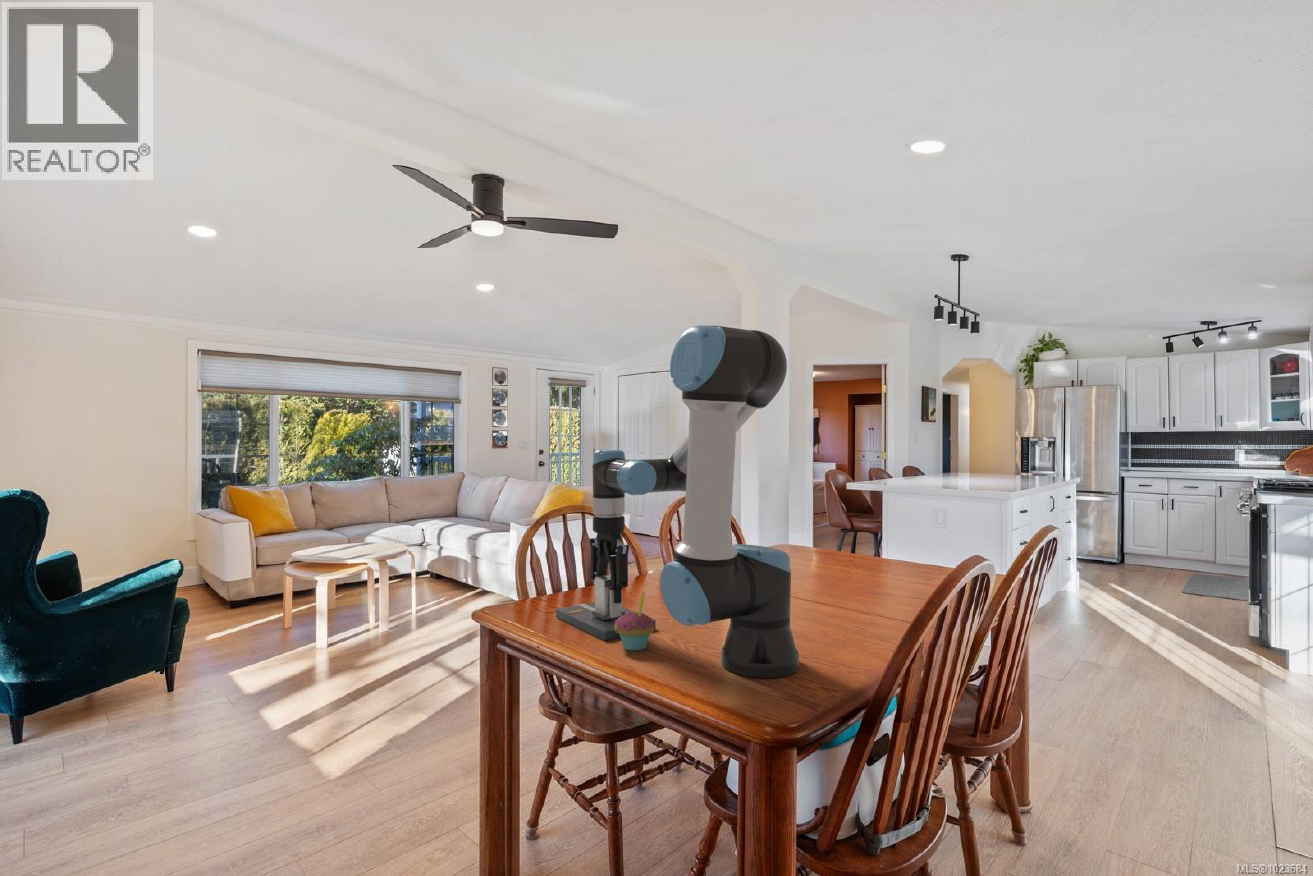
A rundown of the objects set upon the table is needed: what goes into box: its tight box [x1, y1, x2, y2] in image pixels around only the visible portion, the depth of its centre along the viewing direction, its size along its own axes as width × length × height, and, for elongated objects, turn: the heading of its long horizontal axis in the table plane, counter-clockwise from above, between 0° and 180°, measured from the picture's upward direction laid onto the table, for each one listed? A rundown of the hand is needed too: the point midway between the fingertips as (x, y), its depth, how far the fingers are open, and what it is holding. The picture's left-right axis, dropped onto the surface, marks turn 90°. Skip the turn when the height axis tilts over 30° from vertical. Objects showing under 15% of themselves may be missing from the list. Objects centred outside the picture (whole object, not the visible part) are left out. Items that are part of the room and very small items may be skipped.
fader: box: [592, 574, 625, 620], centre depth 151 cm, size 5×6×9 cm
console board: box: [555, 601, 657, 642], centre depth 152 cm, size 22×14×2 cm, turn 37°
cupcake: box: [615, 591, 655, 651], centre depth 135 cm, size 9×8×12 cm
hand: (608, 613), depth 151 cm, fingers closed on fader, 5 cm apart
